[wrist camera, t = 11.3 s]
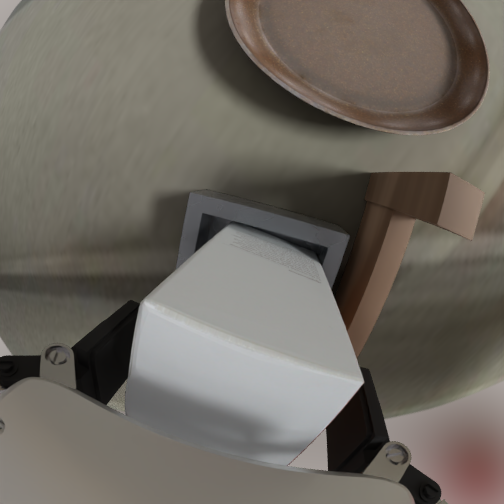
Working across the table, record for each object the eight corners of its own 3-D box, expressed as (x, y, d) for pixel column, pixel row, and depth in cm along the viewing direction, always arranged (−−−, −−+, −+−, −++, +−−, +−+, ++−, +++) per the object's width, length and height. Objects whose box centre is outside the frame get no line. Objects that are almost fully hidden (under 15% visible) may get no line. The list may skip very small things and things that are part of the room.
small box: (275, 343, 21) (258, 494, 8) (199, 314, 21) (120, 445, 8) (319, 250, 18) (371, 382, 6) (232, 216, 18) (132, 296, 6)
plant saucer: (181, 55, 16) (165, 38, 13) (307, -68, 10) (307, -87, 7) (414, 196, 17) (436, 201, 14) (486, 40, 11) (503, 30, 8)
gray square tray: (338, 225, 18) (349, 235, 15) (290, 357, 22) (290, 385, 18) (206, 189, 19) (190, 192, 15) (181, 326, 22) (165, 349, 19)
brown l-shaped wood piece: (395, 182, 17) (484, 192, 7) (308, 397, 23) (311, 487, 13) (359, 168, 17) (430, 162, 7) (278, 391, 23) (270, 482, 13)
